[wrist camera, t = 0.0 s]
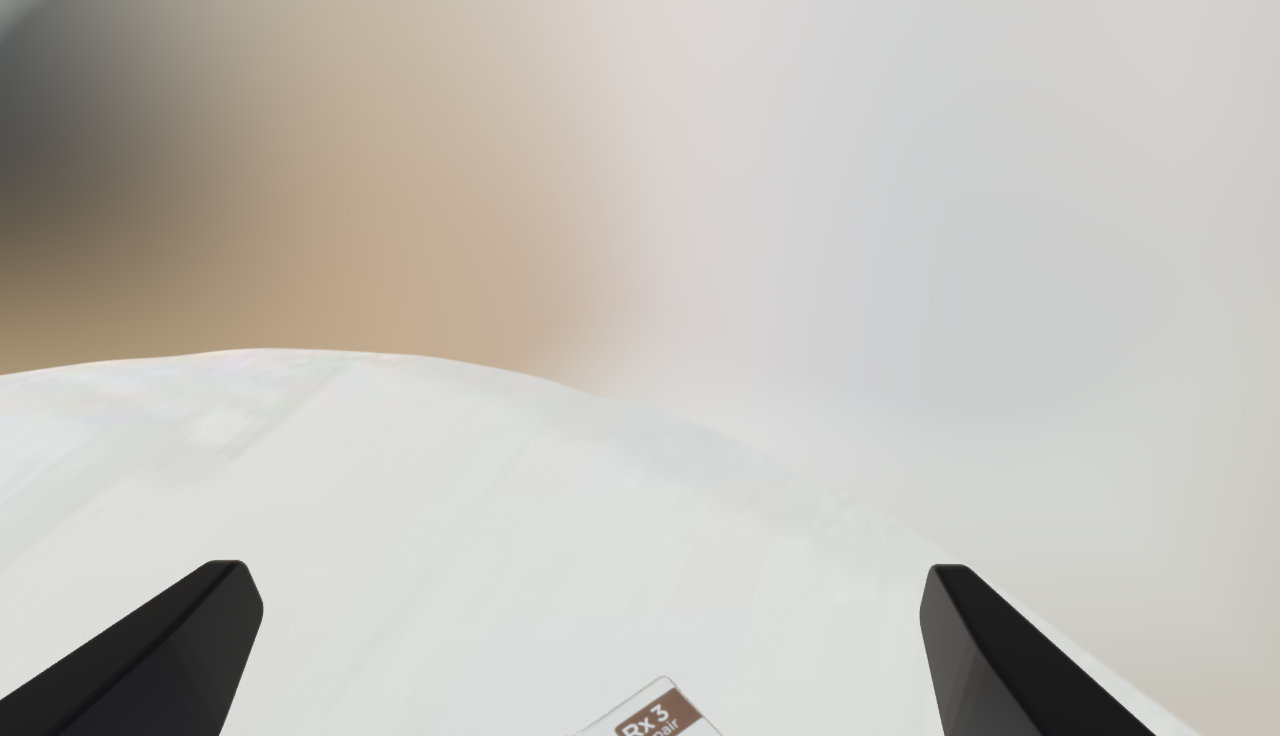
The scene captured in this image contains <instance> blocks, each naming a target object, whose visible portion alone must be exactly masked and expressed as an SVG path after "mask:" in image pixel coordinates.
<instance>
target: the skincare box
mask: <svg viewBox="0 0 1280 736" xmlns="http://www.w3.org/2000/svg"><path fill="white" fill-rule="evenodd" d="M569 736H722V735H721V733H720V732H719V731H718V730H717V729H716V728H715V727H714V726H713V725H712V724H711V723H710V722H709V721H708V720H707V719H706V718H705V716H704V715H703V714H702V713H701V712H700V711H699V710H698V709H697V708H696V707H695V706H694V704H693V703H692V702H691V701H690V700H689V699H688V698H687V697H686V696H685V695H684V694H683V693H682V691H681V690H680V689H679V688H678V687H677V686H676V684H675V683H674V682H673V681H672V680H671V679H670V678H669V677H667V676H665V675H664V676H660V677H658V678H656V679H655V680H653V681H652V682H650V683H649V684H648V685H646V686H645V687H644V688H642V689H641V690H639V691H638V692H637V693H635V694H634V695H632V696H631V697H629V698H628V699H626V700H625V701H624V702H622V703H621V704H619V705H618V706H616V707H615V708H613V709H612V710H610V711H609V712H608V713H606V714H605V715H603V716H602V717H600V718H599V719H598V720H596V721H595V722H593V723H592V724H590V725H589V726H588V727H586V728H585V729H583V730H581V731H579V732H577V733H574V734H571V735H569Z"/></svg>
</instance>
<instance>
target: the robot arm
mask: <svg viewBox="0 0 1280 736" xmlns="http://www.w3.org/2000/svg"><path fill="white" fill-rule="evenodd" d="M262 617H263V602H262V599H261V596H260V594H259V592H258V589H257V587H256V585H255V583H254V580H253V578H252V576H251V574H250V571H249V569H248V567H247V565H246V564H245V563H243V562H242V561H239V560H213V561H209V562H207V563H205V564H204V565H202V566H200V567H199V568H197V569H196V570H195V571H193V572H192V573H190V574H189V575H187V576H186V577H184V578H183V579H181V580H180V581H178V582H177V583H175V584H174V585H172V586H171V587H169V588H168V589H166V590H165V591H163V592H162V593H160V594H159V595H157V596H156V597H154V598H153V599H151V600H150V601H148V602H147V603H145V604H144V605H142V606H141V607H139V608H138V609H136V610H135V611H133V612H132V613H130V614H129V615H127V616H126V617H124V618H123V619H121V620H120V621H118V622H117V623H115V624H114V625H112V626H111V627H109V628H108V629H106V630H105V631H103V632H102V633H100V634H99V635H97V636H96V637H94V638H93V639H91V640H90V641H88V642H87V643H85V644H84V645H82V646H81V647H79V648H78V649H76V650H75V651H73V652H72V653H70V654H69V655H67V656H66V657H64V658H63V659H61V660H60V661H58V662H57V663H55V664H54V665H52V666H51V667H49V668H48V669H46V670H45V671H43V672H42V673H40V674H39V675H37V676H36V677H34V678H33V679H31V680H30V681H28V682H27V683H25V684H24V685H22V686H21V687H19V688H18V689H16V690H15V691H13V692H12V693H10V694H9V695H7V696H6V697H4V698H3V699H1V700H0V736H219V734H220V732H221V730H222V727H223V725H224V722H225V720H226V717H227V715H228V712H229V710H230V707H231V704H232V701H233V699H234V696H235V693H236V690H237V688H238V685H239V682H240V679H241V677H242V674H243V671H244V668H245V665H246V663H247V660H248V657H249V654H250V652H251V649H252V646H253V643H254V641H255V638H256V635H257V632H258V630H259V627H260V624H261V621H262ZM920 626H921V631H922V635H923V640H924V645H925V649H926V654H927V658H928V663H929V667H930V672H931V677H932V681H933V686H934V690H935V695H936V699H937V704H938V709H939V713H940V718H941V722H942V727H943V731H944V735H945V736H1156V735H1155V734H1154V733H1153V732H1151V731H1150V730H1149V729H1148V728H1147V727H1146V726H1145V725H1144V724H1143V723H1141V722H1140V721H1139V720H1138V719H1137V718H1136V717H1135V716H1134V715H1133V714H1131V713H1130V712H1129V711H1128V710H1127V709H1126V708H1125V707H1124V706H1123V705H1121V704H1120V703H1119V702H1118V701H1117V700H1116V699H1115V698H1114V697H1113V696H1111V695H1110V694H1109V693H1108V692H1107V691H1106V690H1105V689H1104V688H1103V687H1101V686H1100V685H1099V684H1098V683H1097V682H1096V681H1095V680H1094V679H1093V678H1091V677H1090V676H1089V675H1088V674H1087V673H1086V672H1085V671H1084V670H1083V669H1081V668H1080V667H1079V666H1078V665H1077V664H1076V663H1075V662H1074V661H1072V660H1071V659H1070V658H1069V657H1068V656H1067V655H1066V654H1065V653H1064V652H1062V651H1061V650H1060V649H1059V648H1058V647H1057V646H1056V645H1055V644H1054V643H1052V642H1051V641H1050V640H1049V639H1048V638H1047V637H1046V636H1045V635H1044V634H1042V633H1041V632H1040V631H1039V630H1038V629H1037V628H1036V627H1035V626H1034V625H1032V624H1031V623H1030V622H1029V621H1028V620H1027V619H1026V618H1025V617H1024V616H1022V615H1021V614H1020V613H1019V612H1018V611H1017V610H1016V609H1015V608H1014V607H1012V606H1011V605H1010V604H1009V603H1008V602H1007V601H1006V600H1005V599H1004V598H1002V597H1001V596H1000V595H999V594H998V593H997V592H996V591H995V590H994V589H992V588H991V587H990V586H989V585H988V584H987V583H986V582H985V581H984V580H982V579H981V578H980V577H979V576H978V575H977V574H976V573H975V572H974V571H972V570H971V569H970V568H969V567H967V566H965V565H961V564H936V565H933V566H932V567H931V568H930V570H929V572H928V576H927V580H926V584H925V589H924V593H923V597H922V602H921V606H920Z"/></svg>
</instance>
